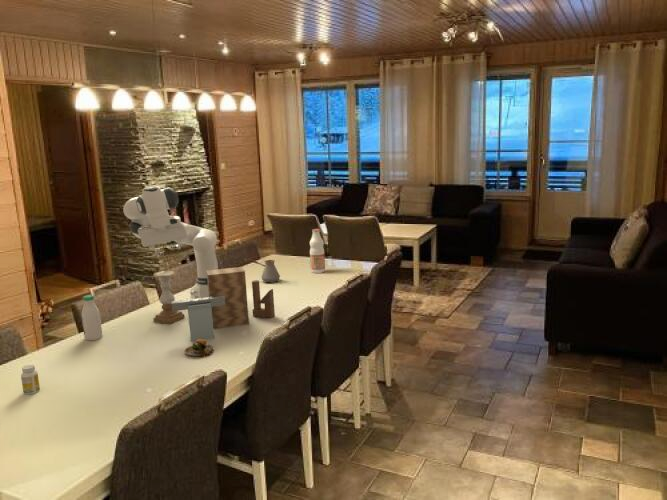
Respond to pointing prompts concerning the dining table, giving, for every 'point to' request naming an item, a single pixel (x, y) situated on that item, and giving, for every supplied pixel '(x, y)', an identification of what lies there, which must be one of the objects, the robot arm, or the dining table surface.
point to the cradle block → (200, 321)
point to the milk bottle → (91, 319)
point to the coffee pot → (268, 271)
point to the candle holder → (167, 300)
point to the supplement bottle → (30, 380)
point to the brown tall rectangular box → (228, 297)
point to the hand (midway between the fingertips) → (168, 251)
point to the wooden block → (262, 302)
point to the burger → (199, 349)
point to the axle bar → (198, 302)
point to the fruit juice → (317, 253)
